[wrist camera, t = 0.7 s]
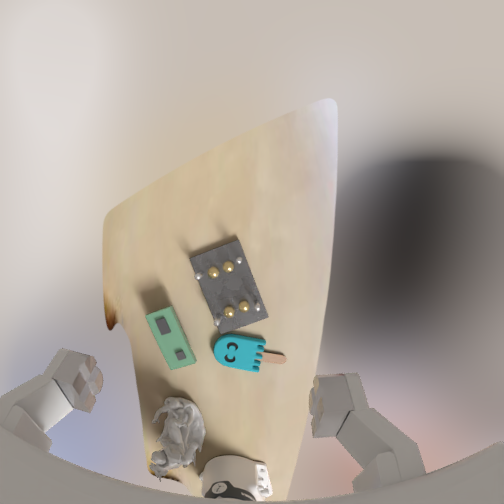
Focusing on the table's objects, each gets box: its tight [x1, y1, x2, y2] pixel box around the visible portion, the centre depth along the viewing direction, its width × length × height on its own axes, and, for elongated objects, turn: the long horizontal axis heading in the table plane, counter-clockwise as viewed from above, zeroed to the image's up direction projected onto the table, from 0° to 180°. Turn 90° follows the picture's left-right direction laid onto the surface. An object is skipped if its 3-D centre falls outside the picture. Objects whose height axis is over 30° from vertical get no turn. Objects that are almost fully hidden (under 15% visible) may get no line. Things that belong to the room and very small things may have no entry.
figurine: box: [149, 397, 206, 481], centre depth 48 cm, size 18×13×18 cm
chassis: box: [190, 240, 268, 334], centre depth 52 cm, size 16×10×6 cm, turn 21°
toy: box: [214, 334, 286, 372], centre depth 55 cm, size 7×2×15 cm
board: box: [145, 305, 197, 370], centre depth 52 cm, size 12×6×2 cm, turn 21°
